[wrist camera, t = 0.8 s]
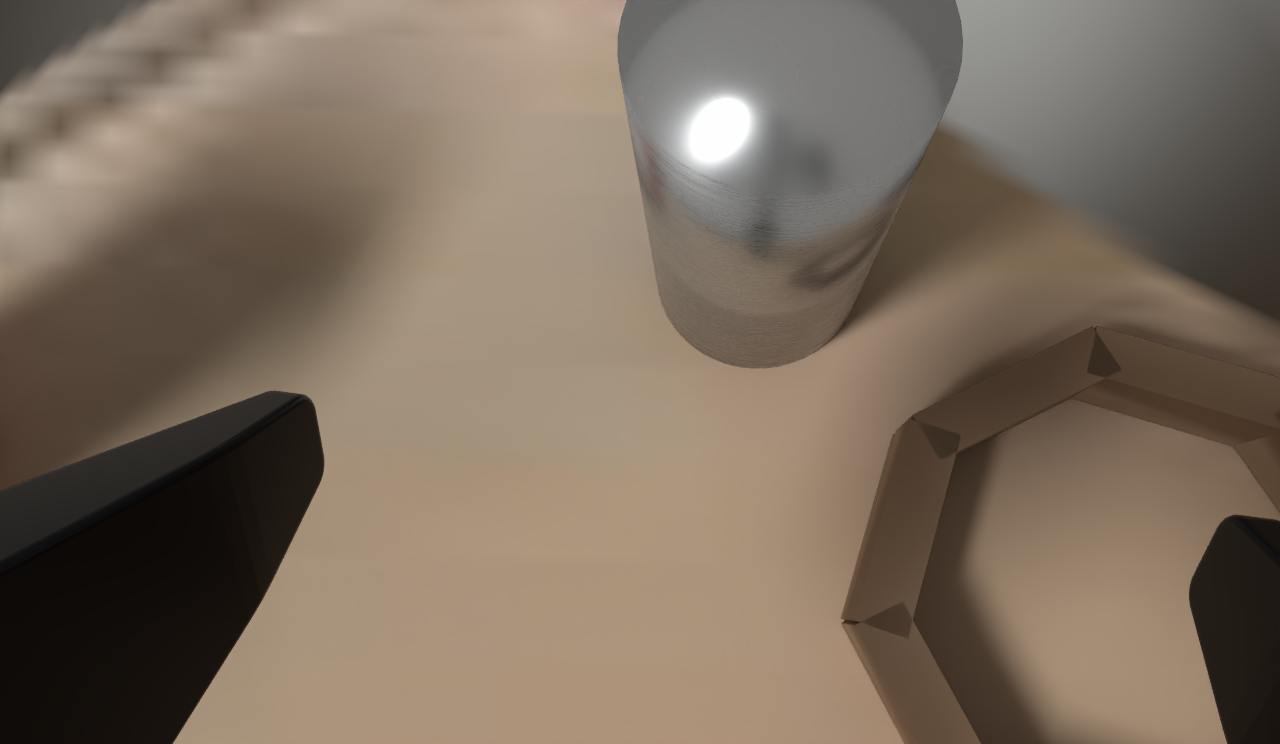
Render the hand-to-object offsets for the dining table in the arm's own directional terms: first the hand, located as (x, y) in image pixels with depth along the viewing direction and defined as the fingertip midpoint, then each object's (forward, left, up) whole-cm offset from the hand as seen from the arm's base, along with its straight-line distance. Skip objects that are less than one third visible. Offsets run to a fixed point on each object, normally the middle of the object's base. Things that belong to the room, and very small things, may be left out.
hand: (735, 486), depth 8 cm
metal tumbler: (+6, -4, -13) cm, 15 cm away
